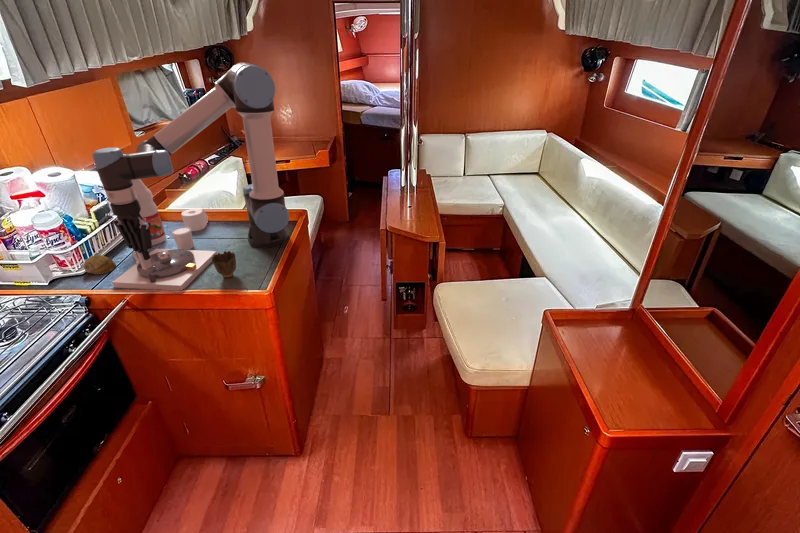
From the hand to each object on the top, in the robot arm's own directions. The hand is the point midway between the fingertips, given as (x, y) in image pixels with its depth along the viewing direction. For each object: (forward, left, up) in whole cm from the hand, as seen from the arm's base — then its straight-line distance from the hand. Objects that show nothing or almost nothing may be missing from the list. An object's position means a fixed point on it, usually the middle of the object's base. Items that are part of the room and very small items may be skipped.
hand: (147, 267), depth 141 cm
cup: (-25, -5, -6) cm, 26 cm away
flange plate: (-2, -7, -3) cm, 8 cm away
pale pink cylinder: (+2, -25, -6) cm, 26 cm away
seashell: (+23, -6, -6) cm, 24 cm away
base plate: (-2, -7, -5) cm, 9 cm away
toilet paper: (+7, -45, -6) cm, 46 cm away
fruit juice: (+18, -29, -6) cm, 35 cm away
